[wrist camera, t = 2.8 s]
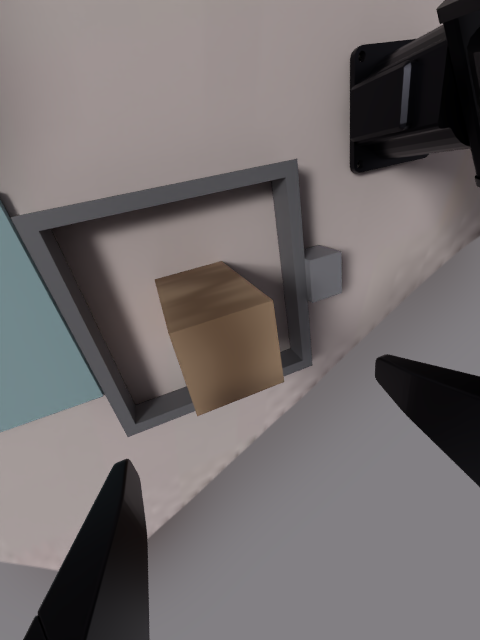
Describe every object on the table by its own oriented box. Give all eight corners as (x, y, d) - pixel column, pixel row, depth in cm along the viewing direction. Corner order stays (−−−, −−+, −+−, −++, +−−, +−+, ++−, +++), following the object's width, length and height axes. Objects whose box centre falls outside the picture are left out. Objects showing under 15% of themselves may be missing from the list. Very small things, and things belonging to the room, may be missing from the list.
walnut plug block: (221, 261, 19) (273, 300, 12) (234, 319, 21) (284, 381, 14) (154, 279, 18) (168, 333, 11) (174, 339, 20) (197, 416, 13)
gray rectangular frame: (314, 155, 18) (340, 150, 16) (323, 344, 25) (342, 359, 23) (25, 214, 14) (5, 218, 12) (128, 417, 21) (127, 443, 19)
